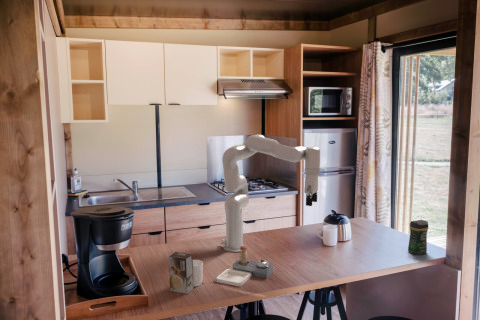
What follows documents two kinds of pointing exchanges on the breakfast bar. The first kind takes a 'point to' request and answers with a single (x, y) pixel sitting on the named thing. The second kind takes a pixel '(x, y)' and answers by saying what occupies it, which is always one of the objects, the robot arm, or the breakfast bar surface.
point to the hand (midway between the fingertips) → (311, 203)
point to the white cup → (197, 272)
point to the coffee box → (181, 272)
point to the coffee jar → (418, 237)
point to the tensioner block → (255, 267)
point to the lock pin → (243, 255)
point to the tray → (233, 277)
